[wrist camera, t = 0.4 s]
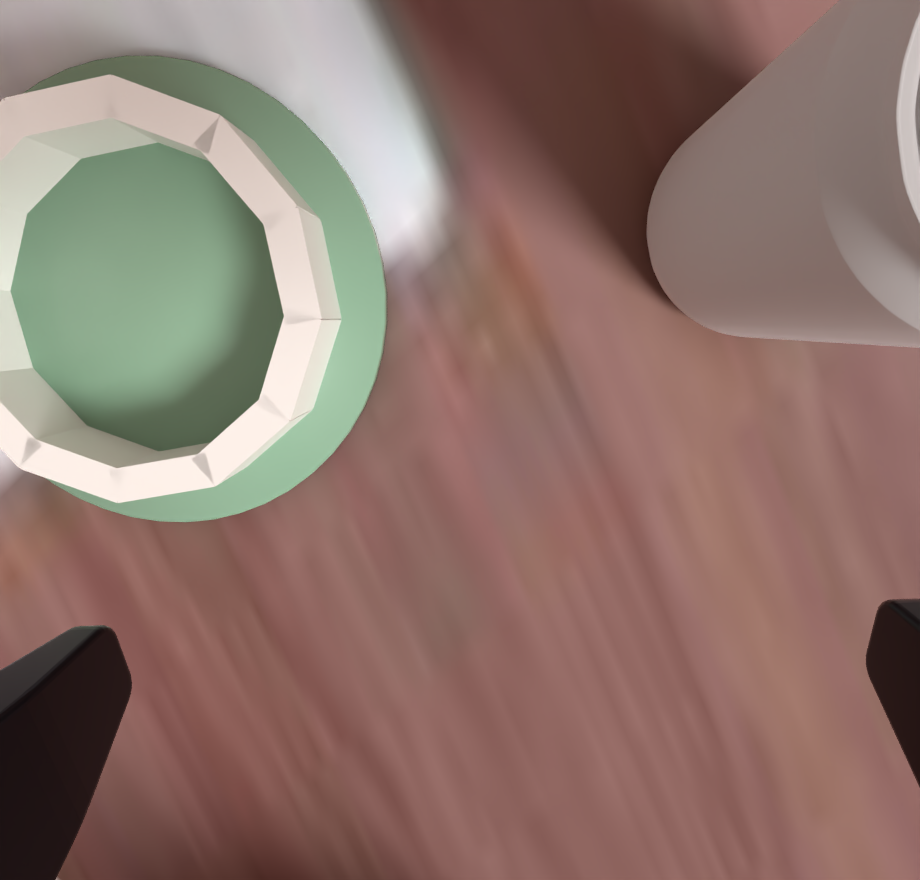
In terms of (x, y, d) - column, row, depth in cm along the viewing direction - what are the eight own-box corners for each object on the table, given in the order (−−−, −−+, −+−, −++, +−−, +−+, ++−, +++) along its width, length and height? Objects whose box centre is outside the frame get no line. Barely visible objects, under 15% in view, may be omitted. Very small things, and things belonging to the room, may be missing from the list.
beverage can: (596, 226, 20) (757, 86, 8) (765, 63, 19) (1242, -377, 7) (732, 379, 20) (1070, 462, 8) (903, 230, 19) (1555, 90, 8)
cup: (425, 480, 21) (415, 506, 18) (26, 546, 22) (-45, 580, 19) (335, 17, 19) (307, -39, 16) (-108, 115, 20) (-212, 80, 17)
